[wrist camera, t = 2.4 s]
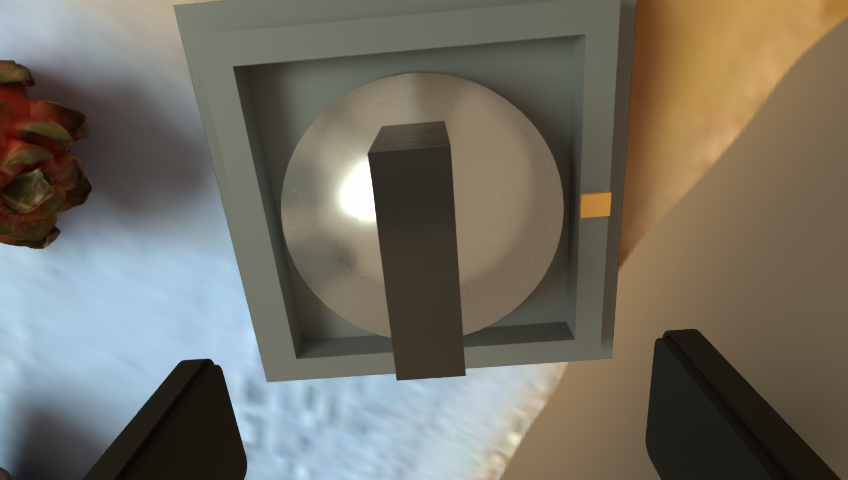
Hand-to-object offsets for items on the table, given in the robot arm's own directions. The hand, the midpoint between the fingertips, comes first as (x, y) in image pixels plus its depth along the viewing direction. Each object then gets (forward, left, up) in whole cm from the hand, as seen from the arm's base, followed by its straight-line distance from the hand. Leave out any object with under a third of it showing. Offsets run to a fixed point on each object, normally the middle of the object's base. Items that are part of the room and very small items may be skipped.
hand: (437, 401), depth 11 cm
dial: (0, 0, -13) cm, 12 cm away
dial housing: (0, 0, -14) cm, 14 cm away
